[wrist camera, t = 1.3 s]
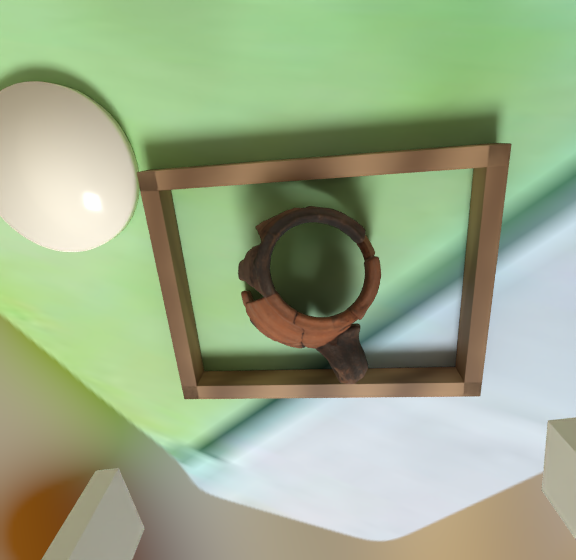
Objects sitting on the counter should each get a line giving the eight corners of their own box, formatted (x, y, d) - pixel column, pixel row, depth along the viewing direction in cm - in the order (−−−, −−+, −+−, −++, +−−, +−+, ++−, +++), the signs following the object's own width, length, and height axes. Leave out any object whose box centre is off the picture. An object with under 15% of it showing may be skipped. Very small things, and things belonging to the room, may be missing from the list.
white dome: (118, 75, 24) (110, 72, 23) (154, 244, 27) (148, 248, 26) (-39, 91, 25) (-53, 90, 24) (16, 251, 29) (6, 255, 28)
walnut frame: (496, 143, 23) (511, 143, 21) (469, 379, 29) (480, 396, 27) (149, 169, 26) (136, 172, 24) (192, 383, 32) (184, 399, 30)
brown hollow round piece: (212, 268, 28) (206, 246, 20) (313, 205, 30) (343, 161, 22) (300, 400, 28) (329, 432, 20) (396, 329, 30) (457, 331, 22)
